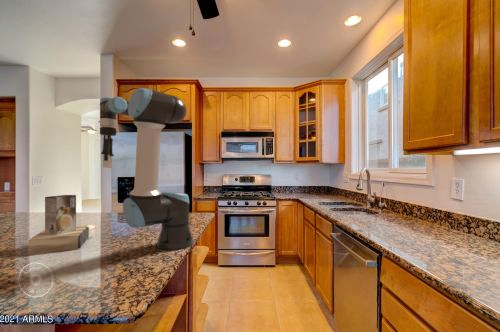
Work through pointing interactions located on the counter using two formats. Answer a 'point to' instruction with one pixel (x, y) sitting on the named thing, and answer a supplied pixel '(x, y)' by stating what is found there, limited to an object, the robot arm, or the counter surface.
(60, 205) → the coffee box
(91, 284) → the counter surface
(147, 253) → the counter surface
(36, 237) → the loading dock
